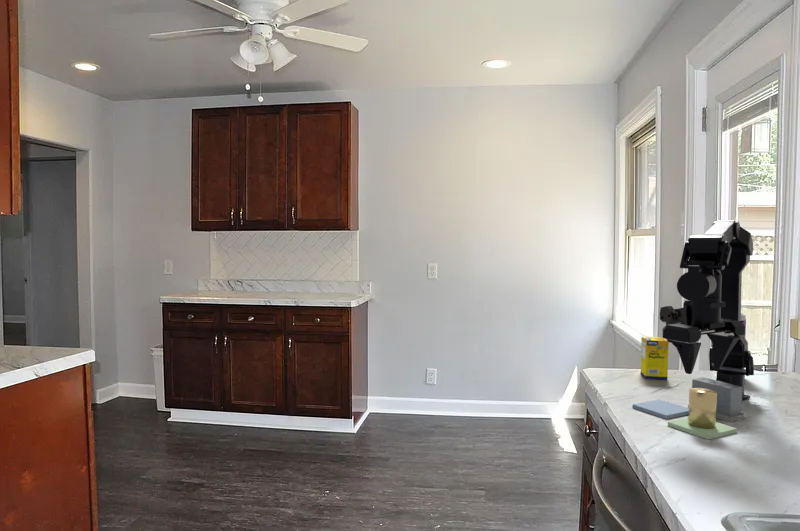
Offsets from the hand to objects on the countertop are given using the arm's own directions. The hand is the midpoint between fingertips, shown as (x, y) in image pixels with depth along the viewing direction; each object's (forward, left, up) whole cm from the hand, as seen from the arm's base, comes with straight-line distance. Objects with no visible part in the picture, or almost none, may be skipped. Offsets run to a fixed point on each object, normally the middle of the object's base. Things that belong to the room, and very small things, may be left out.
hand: (703, 371), depth 116 cm
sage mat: (+1, +1, -12) cm, 12 cm away
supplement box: (-27, -33, -12) cm, 44 cm away
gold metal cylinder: (+1, +1, -11) cm, 11 cm away
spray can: (-47, -23, -12) cm, 53 cm away
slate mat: (-2, -11, -12) cm, 16 cm away
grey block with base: (-11, -4, -12) cm, 16 cm away
